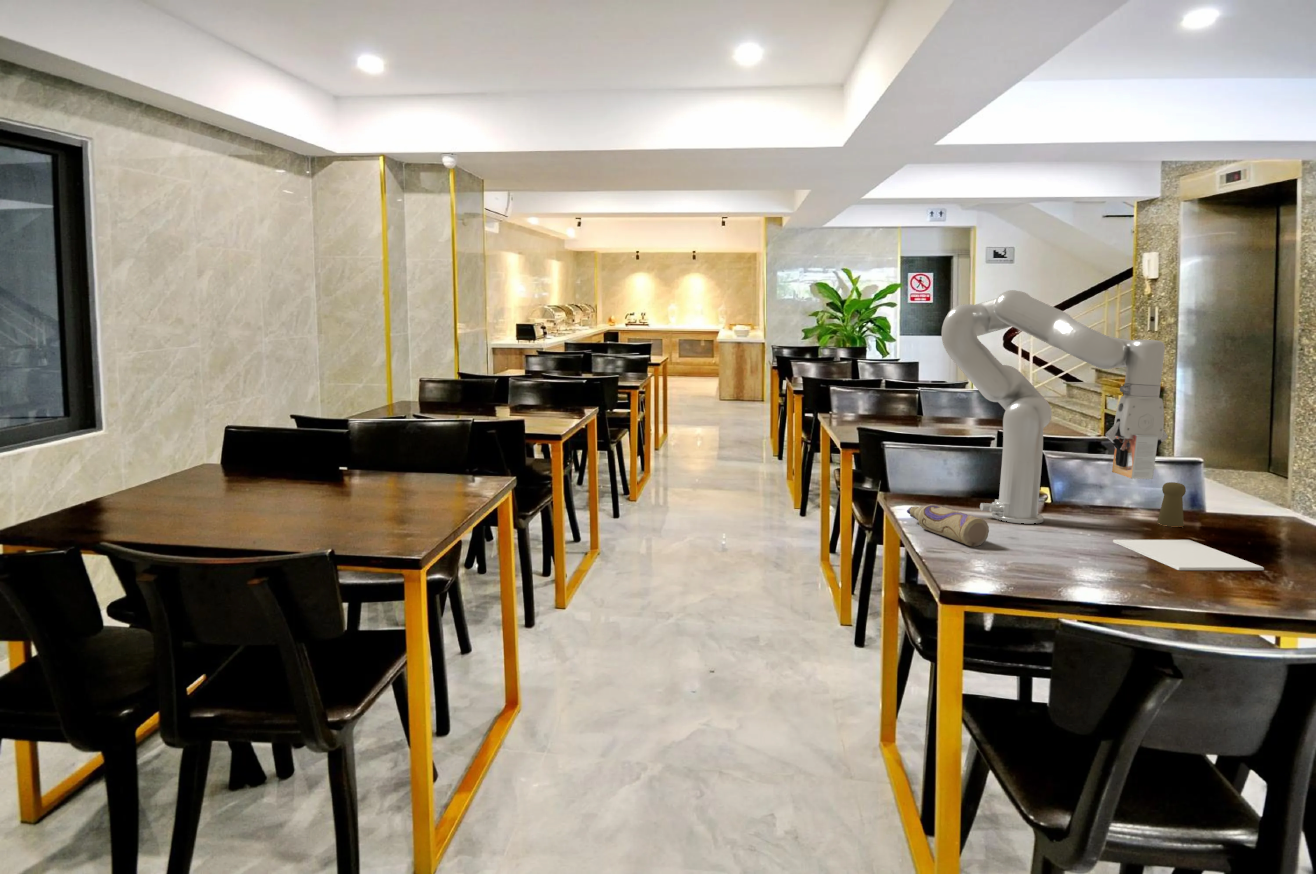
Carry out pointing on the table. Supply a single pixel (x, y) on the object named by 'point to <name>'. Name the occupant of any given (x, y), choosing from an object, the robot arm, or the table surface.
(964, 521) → the decorative bottle
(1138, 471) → the small box
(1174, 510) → the cork
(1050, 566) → the table surface
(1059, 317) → the robot arm
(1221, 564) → the mat
